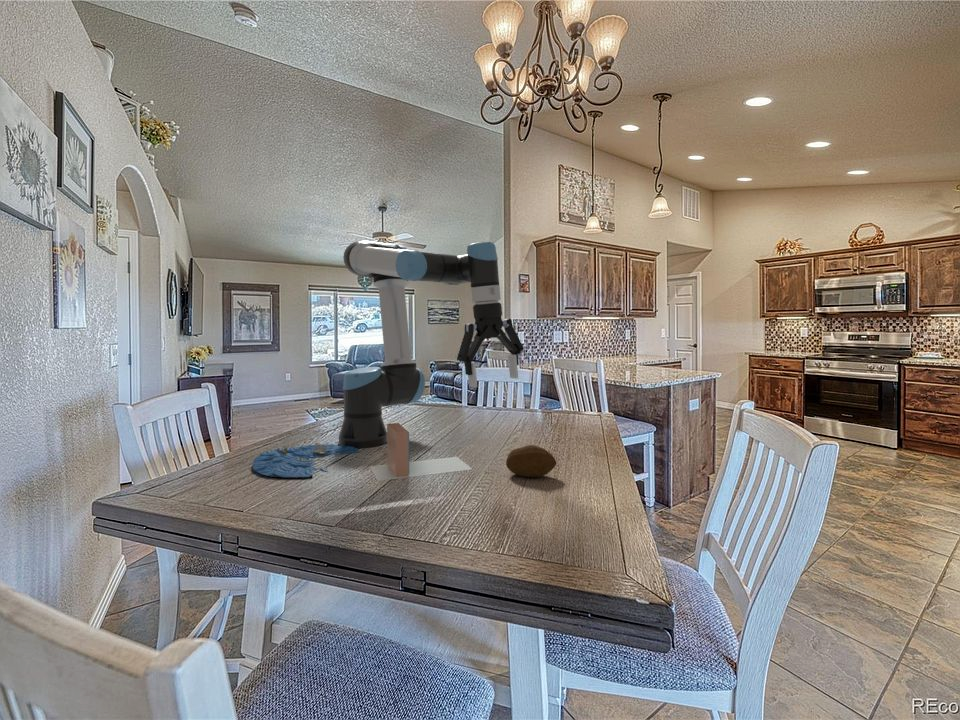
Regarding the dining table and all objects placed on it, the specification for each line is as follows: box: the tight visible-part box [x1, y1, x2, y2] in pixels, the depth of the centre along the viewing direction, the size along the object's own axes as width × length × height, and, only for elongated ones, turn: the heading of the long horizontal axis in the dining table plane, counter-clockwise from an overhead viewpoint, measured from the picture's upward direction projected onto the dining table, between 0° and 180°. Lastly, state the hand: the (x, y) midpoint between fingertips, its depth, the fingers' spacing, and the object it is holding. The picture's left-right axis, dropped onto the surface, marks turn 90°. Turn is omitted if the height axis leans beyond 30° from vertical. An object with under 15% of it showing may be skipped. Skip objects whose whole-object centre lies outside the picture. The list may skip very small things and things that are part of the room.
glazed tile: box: [386, 422, 410, 477], centre depth 118 cm, size 10×3×11 cm, turn 23°
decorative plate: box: [252, 442, 360, 479], centre depth 129 cm, size 30×30×5 cm
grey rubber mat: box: [369, 456, 473, 482], centre depth 121 cm, size 12×24×1 cm, turn 113°
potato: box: [505, 444, 557, 478], centre depth 117 cm, size 8×12×8 cm, turn 88°
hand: (494, 382), depth 126 cm, fingers open, 13 cm apart
